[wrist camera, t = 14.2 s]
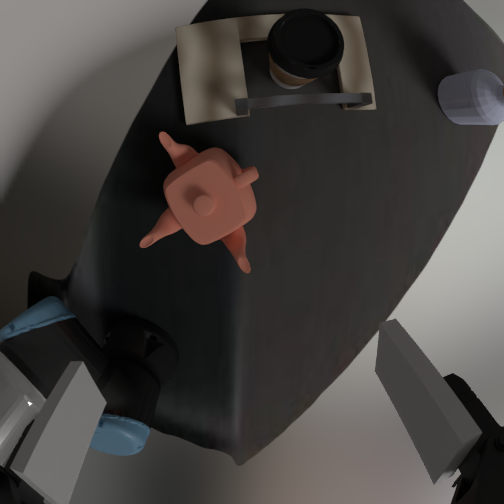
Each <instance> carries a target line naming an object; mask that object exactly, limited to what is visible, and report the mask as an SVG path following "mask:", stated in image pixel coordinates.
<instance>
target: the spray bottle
mask: <svg viewBox="0 0 504 504" xmlns="http://www.w3.org/2000/svg"><path fill="white" fill-rule="evenodd" d="M438 100H439V104H440V106H441V109H442V111H443V112H444V113H445V115H446V116H447V117H448V118H449V119H450V120H451V121H452V122H454V123H457V124H478V125H496V124H500V123H501V122H502V121H504V85H503V83H502V82H501V80H500V79H499V78H498V77H497V76H496V75H495V74H494V73H492V72H490V71H488V70H482V69H479V70H474V71H469V72H464V73H460V74H455V75H451V76H447V77H445V78H444V79H442V81H441V82H440V84H439V86H438Z"/></svg>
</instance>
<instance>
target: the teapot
mask: <svg viewBox="0 0 504 504" xmlns="http://www.w3.org/2000/svg"><path fill="white" fill-rule="evenodd" d="M159 139H160V142H161V143H162V145H163V146H164V148H165V149H166V150H167V152H168V153H169V155H170V157H171V159H172V161H173V163H174V164H175V166H176V169H175V170H174V171H173V172H171V173H170V174H169V175H168V176H167V178H166V179H165V181H164V186H163V188H164V194H165V197H166V200H167V202H168V205H169V208H168V209H167V210H166V211H165V212H164V213H163V214H162V215H161V217H160V218H159V220H158V222H157V224H156V225H155V227H154V228H153V230H152V231H151V232H150V233H149V234H148V235H146V236H145V237H144V238H143V239H142V240H141V242H140V247H141V248H146V247H148V246H150V245H152V244H153V243H154V242H156V241H157V240H159V239H160V238H162V237H164V236H167V235H170V234H172V233H174V232H176V231H178V230H180V229H182V228H183V229H184V230H185V232H186V233H187V234H188V235H189V236H190V237H191V238H192V239H193V240H194V241H195V242H197V243H199V244H203V245H205V244H209V243H212V242H214V241H216V240H219V239H222V241H223V242H224V244H225V245H226V246H227V248H228V249H229V250H230V252H231V253H232V255H233V256H234V258H235V260H236V262H237V264H238V266H239V267H240V268H241V270H242V271H244V272H245V273H249V272H250V265H249V262H248V260H247V258H246V255H245V245H246V234H245V231H244V228H243V225H244V224H245V223H247V222H248V221H250V220H251V219H252V218H253V216H254V214H255V212H256V201H255V196H254V193H253V190H252V187H251V185H250V183H252V182H253V181H255V180H256V179H258V177H259V175H258V172H257V169H256V168H255V167H254V166H250V167H248V168H245V169H243V170H242V169H241V167H240V166H239V165H238V163H237V162H236V161H235V160H234V159H233V158H232V157H231V156H230V155H229V154H228V153H227V152H225V151H224V150H222V149H220V148H210V149H207V150H205V151H203V152H201V153H199V154H198V153H197V152H196V151H195V150H194V149H193V148H192V147H190V146H188V145H184V144H178V143H176V142H174V141H173V139H172V138H171V137H170V136H169V135H168V134H167V133H165V132H160V133H159Z"/></svg>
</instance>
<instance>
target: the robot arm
mask: <svg viewBox="0 0 504 504" xmlns="http://www.w3.org/2000/svg"><path fill="white" fill-rule="evenodd" d="M0 342H2V344H1V345H0V504H44V503H43V500H44V498H45V499H46V500H47V501H49V502H50V503H51V504H69V501H70V498H71V495H72V492H73V489H74V486H75V483H76V480H77V478H78V475H79V472H80V469H81V466H82V463H83V461H84V458H85V456H86V453H87V450H88V448H89V447H91V448H94V449H96V450H98V451H101V452H104V453H109V454H113V455H122V456H125V455H133V454H135V453H138V452H139V451H141V450H142V449H143V447H144V445H145V442H146V440H147V437H148V435H149V434H150V428H151V424H152V420H153V416H154V412H155V409H156V405H157V401H158V397H159V394H160V390H161V389H162V388H163V387H164V385H165V384H166V383H167V382H168V381H169V380H170V379H171V378H172V377H173V375H174V374H175V372H176V369H177V365H178V361H179V353H178V349H177V347H176V345H175V343H174V341H173V340H172V339H171V337H170V336H169V335H168V334H167V333H166V332H165V331H164V330H162V329H161V328H159V327H158V326H156V325H154V324H152V323H150V322H147V321H144V320H140V319H124V320H121V321H118V322H116V323H115V324H114V325H112V327H111V328H110V329H109V331H108V332H107V334H106V336H105V338H104V341H103V349H102V348H101V347H100V346H99V345H98V344H97V343H96V342H95V340H94V339H93V338H92V337H91V336H90V334H89V333H88V332H87V331H86V330H85V328H84V327H83V326H82V325H81V323H80V322H79V321H78V320H77V318H76V316H75V314H72V313H71V312H70V310H69V309H68V308H67V307H66V306H65V305H64V303H63V302H62V301H61V300H60V299H59V298H57V297H54V296H50V297H47V298H45V299H43V300H41V301H40V302H38V303H37V304H35V305H34V306H32V307H31V308H29V309H28V310H26V311H25V312H24V313H22V314H21V315H19V316H18V317H17V318H15V319H14V320H13V321H12V322H10V323H9V324H8V325H6V326H5V327H4V328H2V329H1V330H0ZM375 372H376V374H377V375H378V377H379V379H380V381H381V383H382V384H383V386H384V388H385V390H386V392H387V394H388V395H389V397H390V399H391V401H392V403H393V405H394V407H395V408H396V410H397V412H398V414H399V416H400V418H401V420H402V422H403V424H404V426H405V427H406V429H407V431H408V433H409V435H410V437H411V439H412V441H413V443H414V445H415V447H416V449H417V451H418V453H419V455H420V457H421V459H422V461H423V463H424V465H425V467H426V469H427V471H428V473H429V475H430V477H431V479H432V482H433V484H434V485H435V484H437V483H439V482H441V481H443V480H445V479H447V478H449V477H451V476H452V475H453V474H454V473H455V471H456V470H457V469H459V470H460V472H461V475H460V476H459V477H458V478H457V480H456V481H455V482H454V484H453V486H452V487H455V486H456V485H457V487H456V490H455V493H454V496H453V499H452V502H451V504H504V427H501V426H500V425H499V424H498V423H497V422H496V421H495V419H494V418H493V417H492V415H491V414H490V413H489V411H488V410H487V409H486V407H485V406H484V405H483V403H482V402H481V401H480V400H479V399H478V398H477V397H476V394H475V393H474V392H473V391H471V388H470V387H469V386H468V384H467V383H466V382H465V381H464V380H463V379H462V378H460V377H459V376H457V375H455V374H453V373H452V374H450V375H447V376H445V377H442V376H441V375H440V373H439V372H438V371H437V369H436V368H435V367H434V366H433V364H432V363H431V362H430V360H429V359H428V358H427V357H426V355H425V354H424V353H423V352H422V350H421V349H420V348H419V347H418V345H417V344H416V343H415V342H414V340H413V339H412V338H411V337H410V335H409V334H408V333H407V332H406V331H405V329H404V328H403V327H402V326H401V325H400V323H399V322H398V321H397V320H396V319H393V320H389V321H385V322H382V323H380V328H379V340H378V349H377V358H376V367H375ZM14 447H15V448H14ZM13 449H14V450H13ZM12 450H13V452H12ZM11 452H12V454H11V456H10V458H9V460H8V462H7V464H6V466H5V467H4V468H3V467H2V465H3V463H4V462H5V460H6V459H7V457H8V456H9V454H10V453H11Z"/></svg>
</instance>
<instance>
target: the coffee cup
mask: <svg viewBox="0 0 504 504" xmlns="http://www.w3.org/2000/svg"><path fill="white" fill-rule="evenodd" d="M267 46H268V50H269V62H270V74H271V77H272V79H273V80H274V82H275V83H276V84H278V85H279V86H281V87H283V88H286V89H296V88H299V87H301V86H303V85H305V84H307V83H309V82H311V81H313V80H315V79H317V78H320V77H323V76H326V75H328V74H330V73H331V72H333V71H334V70H335V69H336V68H337V67H338V65H339V64H340V62H341V60H342V57H343V53H344V39H343V35H342V33H341V30H340V29H339V27H338V26H337V24H336V23H335V22H334V21H333V20H332V19H331V18H329V17H328V16H327V15H325V14H323V13H321V12H319V11H316V10H312V9H296V10H293V11H290V12H288V13H286V14H285V15H283V16H282V17H281V18H279V19H278V20H277V21H276V22H275V23H274V25H273V26H272V28H271V29H270V31H269V34H268V38H267Z"/></svg>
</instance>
